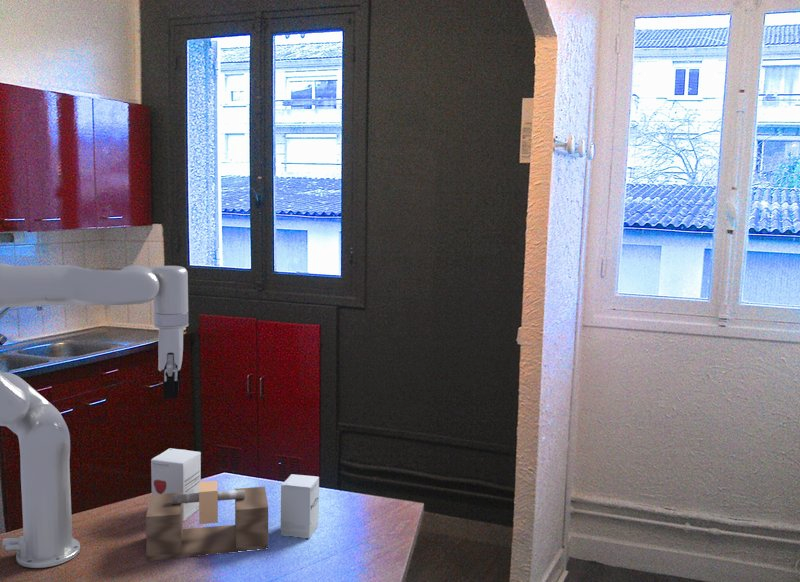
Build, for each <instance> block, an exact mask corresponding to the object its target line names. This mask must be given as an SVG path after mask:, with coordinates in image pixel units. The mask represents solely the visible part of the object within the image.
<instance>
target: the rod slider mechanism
mask: <svg viewBox="0 0 800 582" xmlns="http://www.w3.org/2000/svg"><path fill="white" fill-rule="evenodd" d="M230 500H231V501H232V500H234V524H229V525H226V524H225V525H217V526H205V527H204V526H203V527H193V528H192V527H191V528H184V524H183V523H184V521H183V505H182V503H194V502H199V493H191V494H182V493H169V494H155V495H152V494H150V497H149V501H148V504H147V505H148V506H147V510H146V515H145V527H146V528H145V534H146V537H145V539H146V543H145V544H146V561H148V562H149V561H161V560H170V559H180V558H181V559H182V558H191V557H190V556H194V557H199V556H198V555H205V556H207V555H206V554H215V555H220V554H219V553H226V554H230V553H229V552H237V553H239V552H238V551H247V550H257V549H266V548H268V549H269V503H268V497H267V491H266V486H257V487H242V488H235V489H234V490H233V489H232V490H223V491H222V490H221V491H219V490H218V502H219V501H230ZM217 553H218V554H217Z"/></svg>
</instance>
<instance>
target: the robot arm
mask: <svg viewBox="0 0 800 582" xmlns="http://www.w3.org/2000/svg"><path fill="white" fill-rule="evenodd" d="M188 274H189V273H188V270H187V268H185V267H184V266H181V265H180V266H179V265H161V266H145V265H137V264H136V265H128V266H125V267H123V268H121V269H118V270H109V269H108V270H107V269H106V270H105V269H91V268H85V267H81V266H77V265H66V264H56V265H55V264H53V265H51V264H50V265H49V264H48V265H12V264H9V263H3V262H0V311H2V310H3V309H4V308H20V307H22V308H23V307H28V308H29V307H42V306H47V307H49V306H130V305H133V306H134V305H143V304H146V303H149V302H152V300H153V323H154V324H153V325H154V328H156V329H158V337H157V338H158V340H157V341H158V349H157V353H158V358H157V361H158V365H157V369H158V371H159V372H162V371H163V370H164V374H163V375H164V376H163V378H164V379H163V382H162V383H163V398H164V399H166V400H167V399H179V397H180V395H179V394H180V393H179V392H180V391H179V389H180V388H181V385H182V384H181V381H182V380H181V377H182V376H181V374H182V373H181V371H182V370H181V369H182V363H183V354H184V353H183V352H184V328H187V327H189V281H188V280H189V275H188ZM0 427H6V428H8V429H9V430H10V431H11V432H12V433H13V434H15V435H16V436H17V438H18V444H19V454H20V457H19V459H20V485H21V488H20V489H21V509H22V529H23V530H22V531H23V535H19V536H18V537H14V538H13V537H10V538H8V537H6V538H3V539H2V542H1V543H2V545H1V546H2V549H5V552H13V551H17V552H16V557H15V558H16V562H17V564H19V565H20V566H22V567H25V568H29V569H30V568H31V569H43V568H50V567H54V566H59V565H61V564H64V563H66V562H68V561H70V560H72V559H74V558H75V557H76V556H77V555H78V554H79V553H80V552H81V543H80V542H79V540H78V539H76V538H74V537H73V527H72V526H73V525H72V524H73V523H72V496H71V495H72V494H71V472H70V471H71V469H70V458H71V434H70V431H69V427H68V425H67V423H66V421H65V419H64V417H63V416H62V414H61V412H60V411H59V410H58V409H57V407H55V405H53V404H52V403H51V402H49V401H48V400H47V399H46V398H45V396H43V395H42V394H40V393H39V392H38V391H37V390H36V389H35V388H33V387H32V386H31V385H30V384H29V383H27V381H25V380H24V379H23V378H21V377H20V376H19V375H17V374H14V373H11V372H8V371H7V372H6V371H5V372H3V371H2V370H0Z"/></svg>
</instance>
